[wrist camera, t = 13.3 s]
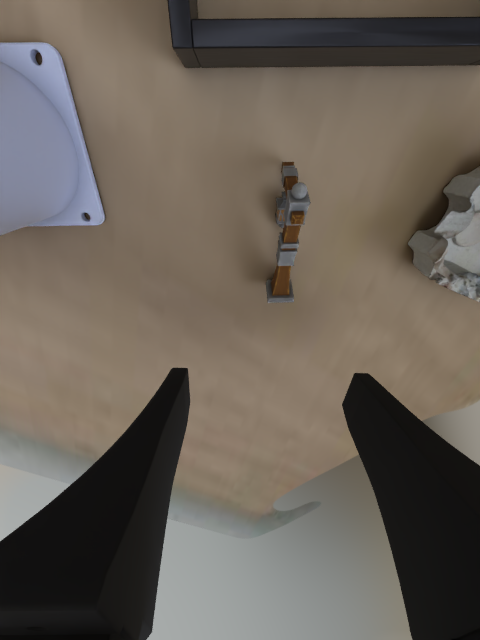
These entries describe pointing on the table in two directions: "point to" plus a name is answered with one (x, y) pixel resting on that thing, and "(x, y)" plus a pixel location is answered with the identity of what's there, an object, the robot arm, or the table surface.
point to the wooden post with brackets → (288, 233)
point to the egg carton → (454, 240)
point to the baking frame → (321, 40)
